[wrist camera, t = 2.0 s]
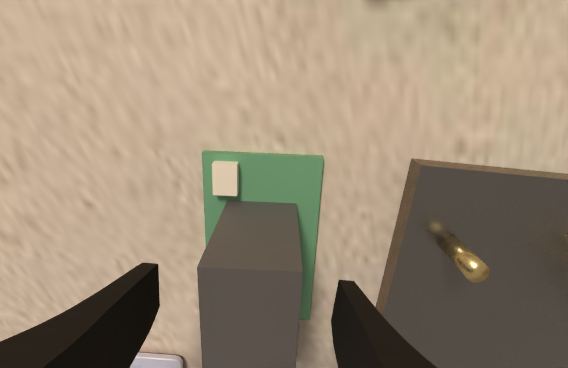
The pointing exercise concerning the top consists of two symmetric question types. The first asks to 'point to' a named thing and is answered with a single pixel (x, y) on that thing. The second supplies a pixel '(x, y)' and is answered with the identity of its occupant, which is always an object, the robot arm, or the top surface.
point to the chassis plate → (480, 266)
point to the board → (257, 256)
